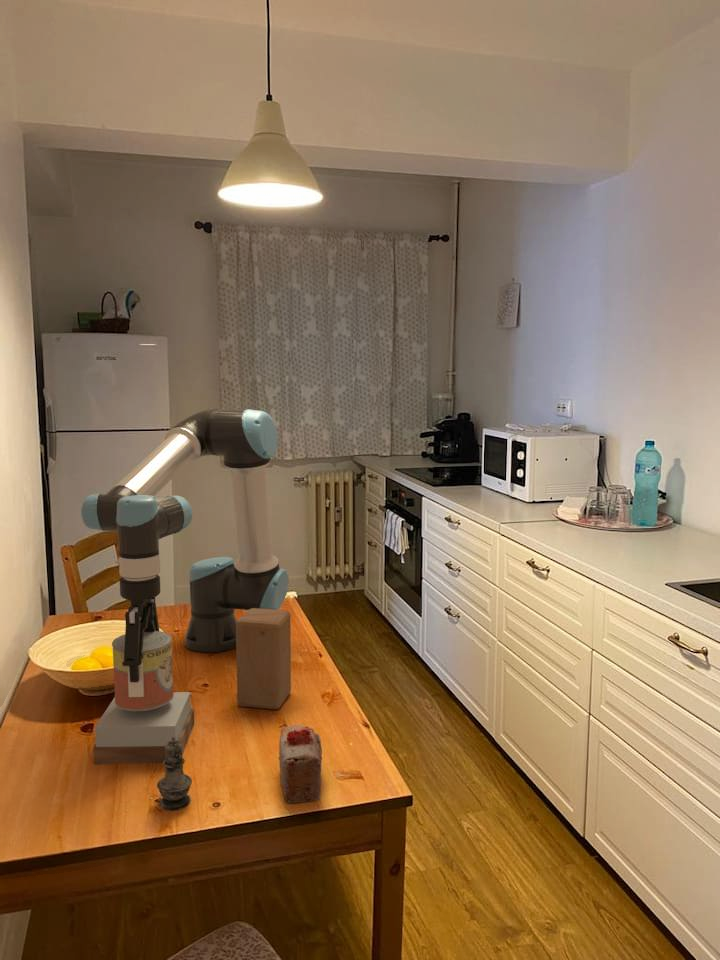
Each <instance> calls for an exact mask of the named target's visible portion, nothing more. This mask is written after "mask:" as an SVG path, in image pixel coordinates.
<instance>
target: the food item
mask: <svg viewBox="0 0 720 960" xmlns="http://www.w3.org/2000/svg"><path fill="white" fill-rule="evenodd" d="M278 741H279V742H278V746H279V747H278V750H279V753H278V754H279V755H278V761H279V762H278V763H279V771H280V772H279V773H280V779H281V786H282V790H283V794H284V797H285V800H286V802H287V803H290V804H297V803H301V802H302V803H305V802H316V801H318V800H320V797H321V794H322V791H321V790H322V787H321V786H322V774H321V773H322V761H323V757H322V754H323V749H322V744H321V743H322V740H321V735H320V734H318V733H315V730H314V728H313V727H310V726H306V725H302V724H294V725H290V726H287V727H286V726H283V727H281V730H280V735H279V740H278Z"/></svg>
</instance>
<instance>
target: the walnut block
mask: <svg viewBox="0 0 720 960" xmlns="http://www.w3.org/2000/svg"><path fill="white" fill-rule="evenodd" d="M194 725H195V707H194V708H193V707H191V711H190V713H189V716H188V718H187V721H186V723H185V725H184V728H183V730H182V733H181V735H180V737H179V740H178V741H179V742H180V743H181V745H182V756H183V754H184V751H185V749H186V747H187V744H188V742H189V739H190V735H191V733H192V732H193V729H194ZM92 749H93V750H92V751H93V765H123V764H124V765H125V764H126V765H127V764H129V765H131V764H163V762H164V760H165V746H138V747H96V743H95V744H94V745H93V748H92Z"/></svg>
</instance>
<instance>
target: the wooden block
mask: <svg viewBox="0 0 720 960" xmlns="http://www.w3.org/2000/svg"><path fill="white" fill-rule="evenodd" d="M236 620H237V622H236V647H235V648H236V651H235V653H236V654H235V655H236V698H237V701H236V702H237V703H236V704H237V705H238V706H240V707H245V708H246V707H247V708H248V707H249V708H257V709H258V708H259V709H266V710H267V709H268V710H278V709H280V708H281V706H282V705H283V703H284V702H285V701H286V699H287V698H288V697H289V695H290V694H291V690H292V667H291V666H292V663H291V661H292V660H291V657H292V655H291V653H292V652H291V648H292V647H291V642H292V641H291V613H290V611H289V610H284V609H278V610H272V609H259V608H251V609H249V610H246V611H245V613H244V614H243V615H241V617H239V618H238V619H236Z"/></svg>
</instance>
